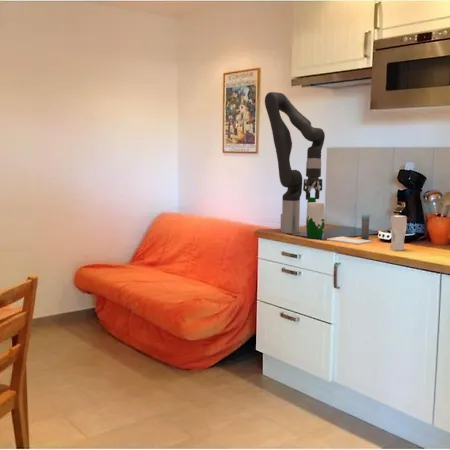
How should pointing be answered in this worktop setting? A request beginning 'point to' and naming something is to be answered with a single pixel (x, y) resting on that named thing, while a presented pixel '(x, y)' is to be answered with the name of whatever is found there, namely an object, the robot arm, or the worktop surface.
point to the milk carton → (315, 218)
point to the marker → (365, 226)
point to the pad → (349, 240)
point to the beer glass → (398, 231)
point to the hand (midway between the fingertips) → (312, 199)
